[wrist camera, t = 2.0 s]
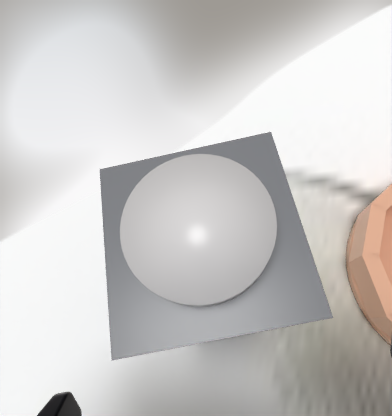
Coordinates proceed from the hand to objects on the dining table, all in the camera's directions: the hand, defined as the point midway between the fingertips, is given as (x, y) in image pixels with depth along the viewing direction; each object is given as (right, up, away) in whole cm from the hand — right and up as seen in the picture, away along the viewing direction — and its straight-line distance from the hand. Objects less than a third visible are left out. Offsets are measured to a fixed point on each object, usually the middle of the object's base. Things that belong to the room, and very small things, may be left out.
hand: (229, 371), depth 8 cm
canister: (+1, -1, +11) cm, 11 cm away
